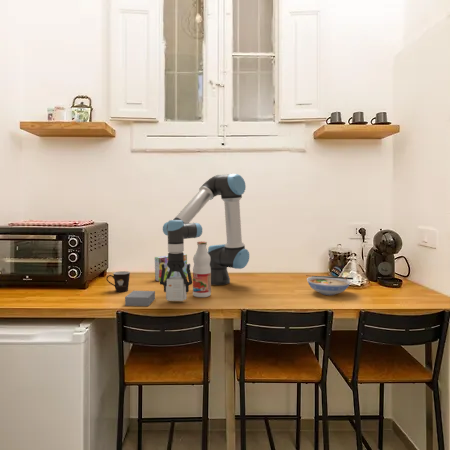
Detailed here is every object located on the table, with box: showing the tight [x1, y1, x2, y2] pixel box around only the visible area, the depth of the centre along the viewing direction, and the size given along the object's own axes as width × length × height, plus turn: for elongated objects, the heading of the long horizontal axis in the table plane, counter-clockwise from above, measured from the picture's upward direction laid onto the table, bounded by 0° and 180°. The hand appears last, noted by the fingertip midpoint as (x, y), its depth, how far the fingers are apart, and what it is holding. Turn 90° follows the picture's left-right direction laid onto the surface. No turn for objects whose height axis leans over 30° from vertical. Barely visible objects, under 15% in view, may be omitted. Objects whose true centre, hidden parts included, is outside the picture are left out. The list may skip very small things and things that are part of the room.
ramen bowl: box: [306, 275, 354, 296], centre depth 184 cm, size 25×23×8 cm
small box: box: [166, 277, 185, 302], centre depth 166 cm, size 8×6×10 cm
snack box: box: [154, 253, 188, 283], centre depth 218 cm, size 21×6×15 cm, turn 133°
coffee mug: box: [106, 270, 131, 293], centre depth 187 cm, size 12×9×10 cm
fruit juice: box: [192, 241, 212, 298], centre depth 179 cm, size 9×9×28 cm
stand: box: [124, 290, 156, 307], centre depth 166 cm, size 11×12×4 cm
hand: (176, 298), depth 166 cm, fingers closed on small box, 8 cm apart
